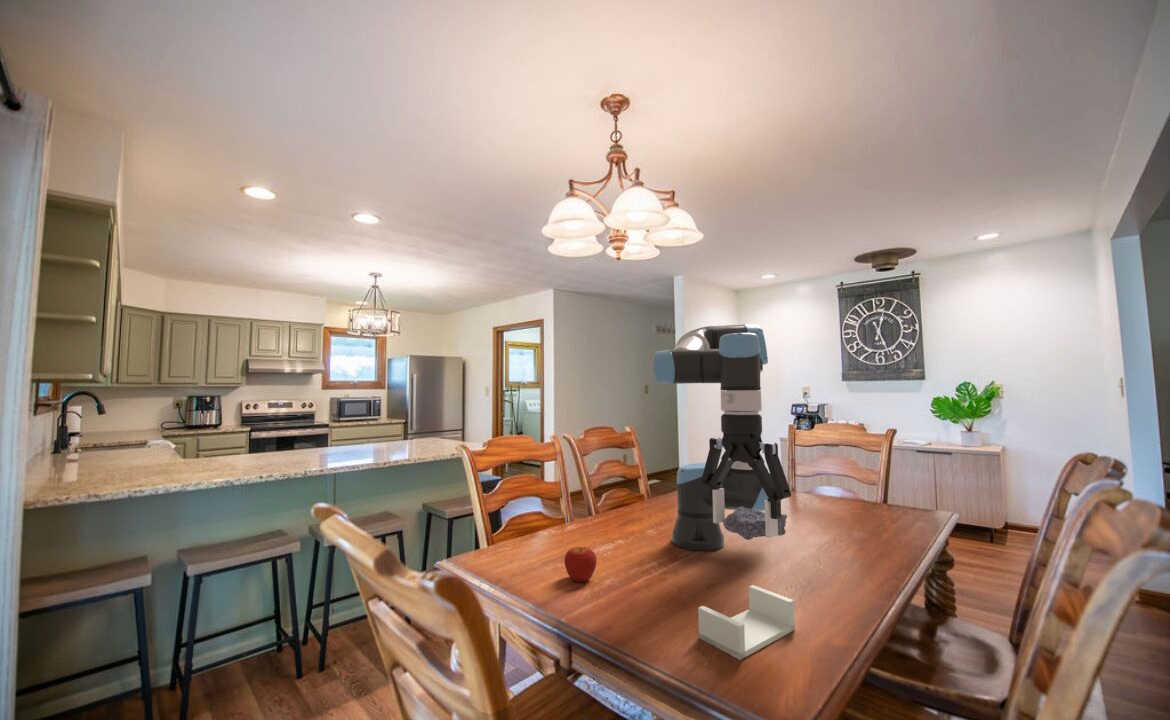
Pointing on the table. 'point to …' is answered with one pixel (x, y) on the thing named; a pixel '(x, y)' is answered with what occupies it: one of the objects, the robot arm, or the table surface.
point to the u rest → (748, 624)
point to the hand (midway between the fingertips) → (744, 528)
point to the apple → (580, 563)
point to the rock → (750, 523)
